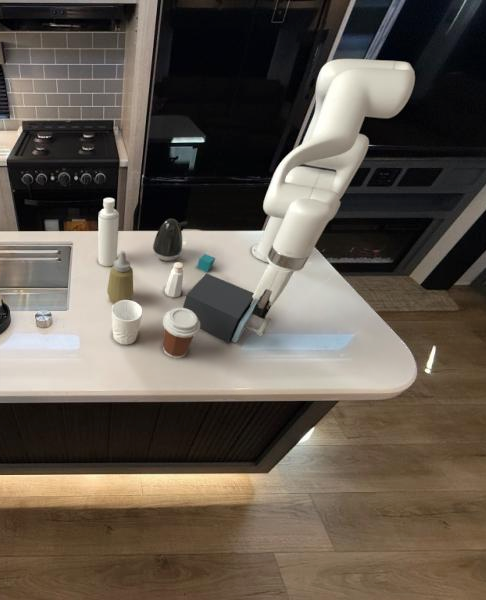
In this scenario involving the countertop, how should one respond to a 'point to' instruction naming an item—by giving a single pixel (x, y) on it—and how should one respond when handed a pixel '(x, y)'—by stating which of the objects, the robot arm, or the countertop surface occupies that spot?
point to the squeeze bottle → (120, 280)
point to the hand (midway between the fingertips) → (258, 314)
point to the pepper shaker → (175, 281)
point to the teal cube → (205, 262)
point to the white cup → (126, 321)
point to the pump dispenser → (168, 240)
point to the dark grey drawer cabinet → (218, 306)
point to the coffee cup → (179, 331)
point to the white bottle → (108, 233)
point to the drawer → (246, 320)
